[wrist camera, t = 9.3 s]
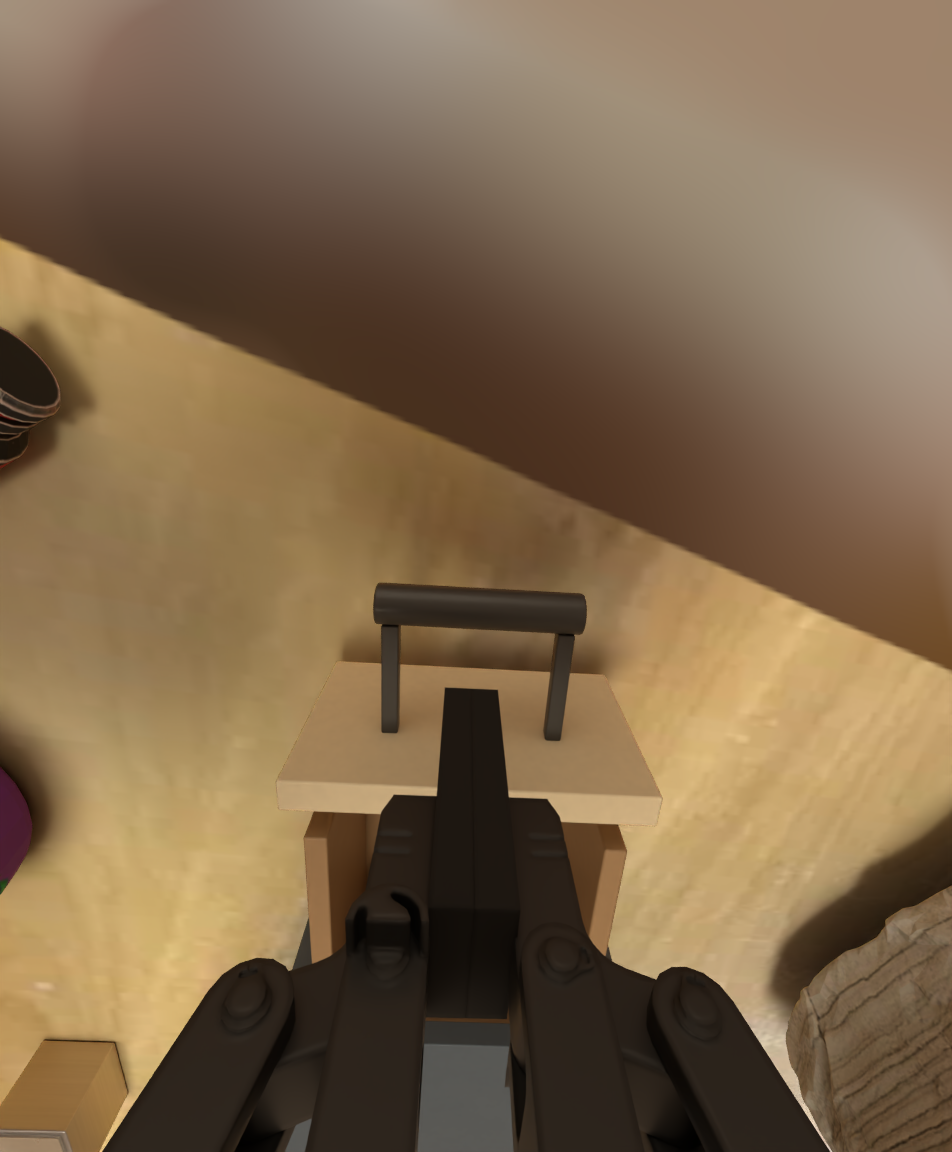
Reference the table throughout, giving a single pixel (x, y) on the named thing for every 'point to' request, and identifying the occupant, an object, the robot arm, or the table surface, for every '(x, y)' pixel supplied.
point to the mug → (12, 829)
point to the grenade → (22, 395)
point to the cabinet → (453, 1084)
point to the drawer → (413, 737)
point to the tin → (64, 1099)
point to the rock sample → (882, 1037)
